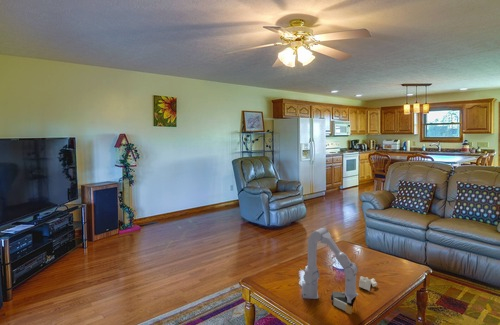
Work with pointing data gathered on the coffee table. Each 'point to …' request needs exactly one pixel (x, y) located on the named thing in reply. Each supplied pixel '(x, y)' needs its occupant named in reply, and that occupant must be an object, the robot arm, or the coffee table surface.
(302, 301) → the coffee table surface
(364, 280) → the figurine
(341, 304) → the door
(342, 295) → the case
